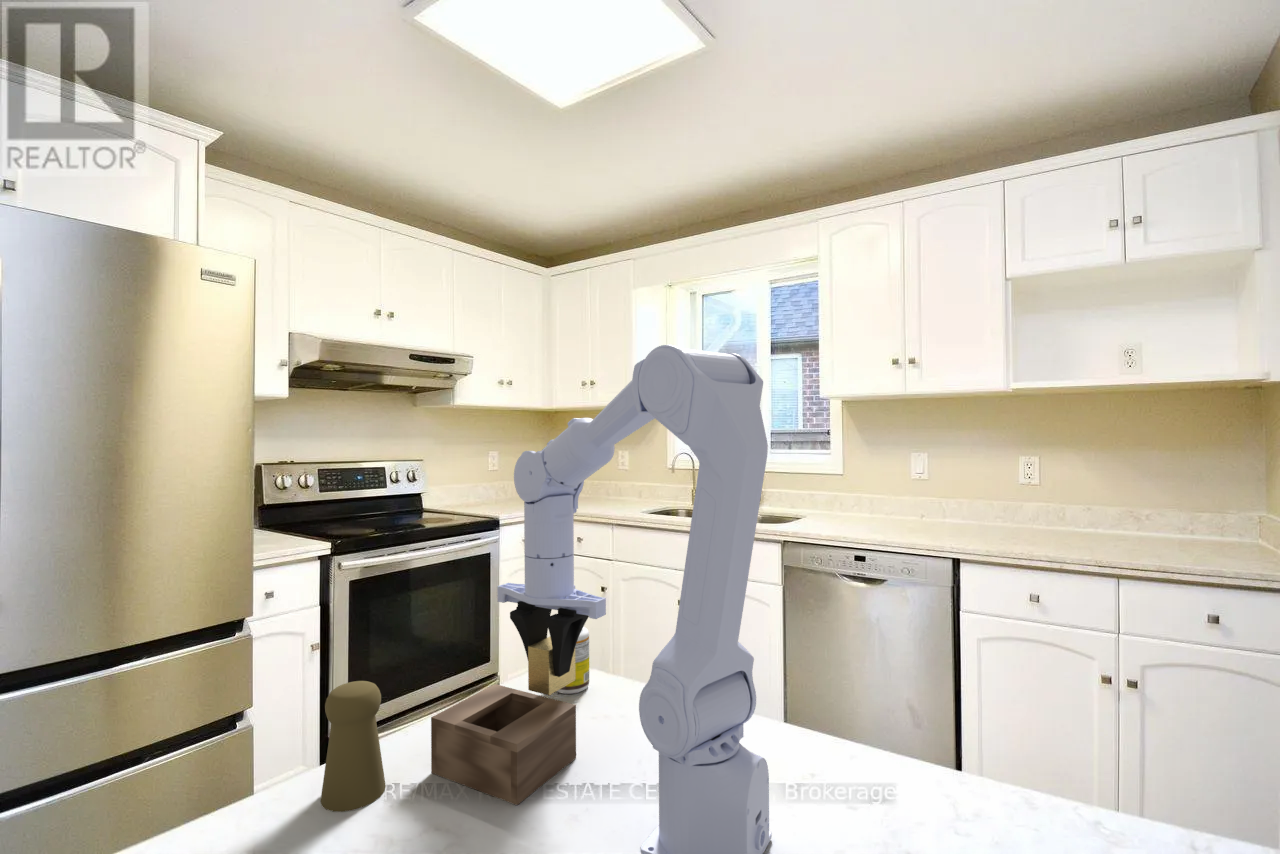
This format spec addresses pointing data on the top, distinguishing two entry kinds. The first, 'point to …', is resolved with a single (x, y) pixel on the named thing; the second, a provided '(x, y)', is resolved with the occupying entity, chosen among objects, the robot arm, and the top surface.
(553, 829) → the top surface
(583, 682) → the supplement bottle
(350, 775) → the cork
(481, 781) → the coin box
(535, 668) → the block
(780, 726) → the top surface
